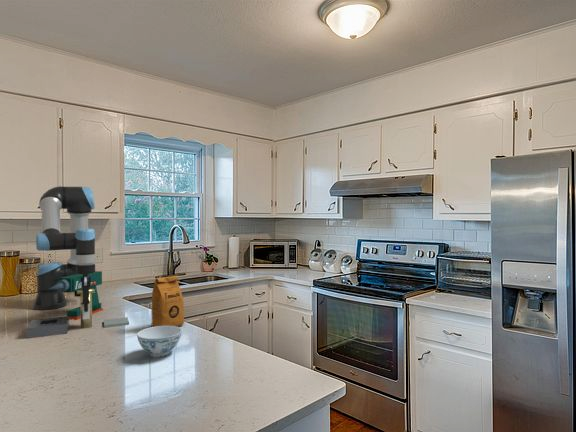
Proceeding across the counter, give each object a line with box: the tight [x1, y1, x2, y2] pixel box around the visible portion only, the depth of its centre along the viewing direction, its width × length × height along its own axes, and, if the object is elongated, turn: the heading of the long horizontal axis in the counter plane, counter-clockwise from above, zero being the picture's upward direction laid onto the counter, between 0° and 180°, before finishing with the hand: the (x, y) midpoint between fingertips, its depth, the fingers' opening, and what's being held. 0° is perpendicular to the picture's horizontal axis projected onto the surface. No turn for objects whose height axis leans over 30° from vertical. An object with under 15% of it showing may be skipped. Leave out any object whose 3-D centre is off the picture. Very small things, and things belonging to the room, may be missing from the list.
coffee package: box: [151, 275, 185, 327], centre depth 172 cm, size 10×12×22 cm
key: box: [77, 289, 95, 329], centre depth 173 cm, size 4×7×16 cm, turn 116°
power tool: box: [49, 270, 104, 321], centre depth 188 cm, size 32×7×20 cm, turn 168°
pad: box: [103, 316, 130, 329], centre depth 178 cm, size 10×10×1 cm
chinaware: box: [136, 326, 183, 358], centre depth 139 cm, size 15×15×8 cm
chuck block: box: [26, 315, 70, 339], centre depth 167 cm, size 14×14×4 cm
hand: (86, 317), depth 173 cm, fingers closed on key, 4 cm apart
